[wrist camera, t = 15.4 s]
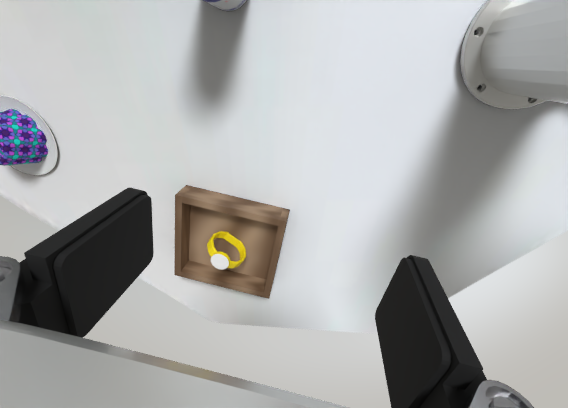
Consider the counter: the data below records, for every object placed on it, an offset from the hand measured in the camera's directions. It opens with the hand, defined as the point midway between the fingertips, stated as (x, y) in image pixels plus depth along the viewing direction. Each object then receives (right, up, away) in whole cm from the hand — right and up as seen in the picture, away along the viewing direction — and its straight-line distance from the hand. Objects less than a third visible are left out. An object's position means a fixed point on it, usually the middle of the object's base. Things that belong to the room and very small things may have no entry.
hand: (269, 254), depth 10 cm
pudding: (-39, +12, +33) cm, 52 cm away
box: (-8, -4, +35) cm, 36 cm away
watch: (-8, -4, +35) cm, 36 cm away
